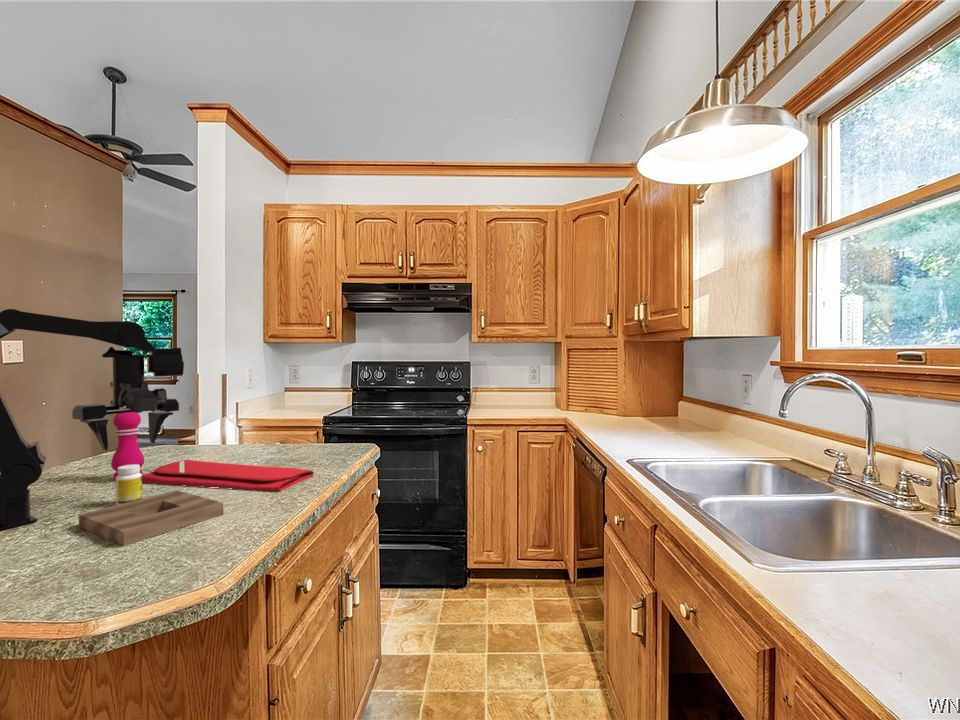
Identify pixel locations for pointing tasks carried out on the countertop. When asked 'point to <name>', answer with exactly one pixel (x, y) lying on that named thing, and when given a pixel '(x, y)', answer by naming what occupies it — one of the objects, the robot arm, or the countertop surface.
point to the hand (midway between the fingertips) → (129, 446)
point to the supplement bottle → (128, 484)
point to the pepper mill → (127, 441)
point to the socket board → (149, 516)
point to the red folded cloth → (226, 475)
